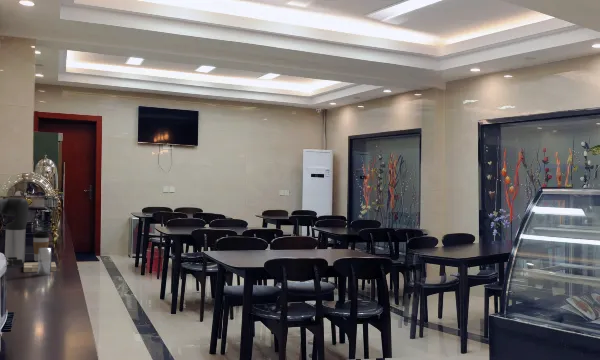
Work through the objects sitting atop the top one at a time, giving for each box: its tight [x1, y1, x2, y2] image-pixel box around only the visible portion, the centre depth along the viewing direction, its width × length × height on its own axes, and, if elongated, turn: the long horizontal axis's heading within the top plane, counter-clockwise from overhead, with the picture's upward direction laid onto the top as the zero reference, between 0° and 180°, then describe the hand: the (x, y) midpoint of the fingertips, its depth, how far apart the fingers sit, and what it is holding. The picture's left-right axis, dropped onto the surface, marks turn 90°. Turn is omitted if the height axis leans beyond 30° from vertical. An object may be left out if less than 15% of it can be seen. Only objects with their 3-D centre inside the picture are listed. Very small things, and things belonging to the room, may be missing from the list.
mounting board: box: [23, 261, 57, 273], centre depth 279 cm, size 18×14×2 cm
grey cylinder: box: [37, 247, 53, 276], centre depth 263 cm, size 6×5×12 cm
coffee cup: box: [32, 231, 50, 262], centre depth 309 cm, size 8×8×15 cm
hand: (19, 260), depth 256 cm, fingers open, 8 cm apart
